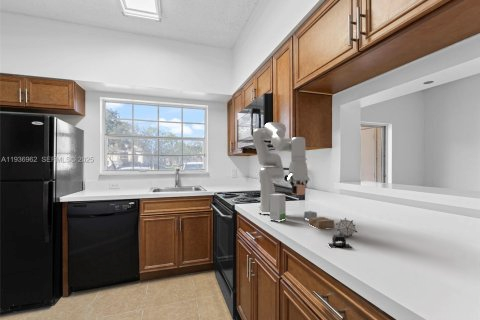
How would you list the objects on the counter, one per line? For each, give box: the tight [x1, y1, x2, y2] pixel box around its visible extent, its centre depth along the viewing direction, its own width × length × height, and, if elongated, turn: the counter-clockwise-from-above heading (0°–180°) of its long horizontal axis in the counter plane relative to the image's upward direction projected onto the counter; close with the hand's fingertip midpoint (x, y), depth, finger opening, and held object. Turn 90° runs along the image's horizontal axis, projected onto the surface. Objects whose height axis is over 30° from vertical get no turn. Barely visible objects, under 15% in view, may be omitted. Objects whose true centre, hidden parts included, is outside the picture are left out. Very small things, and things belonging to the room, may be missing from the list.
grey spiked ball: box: [335, 217, 358, 239], centre depth 105 cm, size 9×8×10 cm
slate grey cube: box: [303, 210, 318, 219], centre depth 136 cm, size 5×5×5 cm
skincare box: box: [269, 193, 287, 220], centre depth 135 cm, size 8×7×16 cm
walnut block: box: [308, 216, 335, 230], centre depth 121 cm, size 9×9×4 cm
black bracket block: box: [327, 234, 354, 249], centre depth 92 cm, size 12×7×5 cm, turn 88°
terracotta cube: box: [291, 184, 306, 196], centre depth 124 cm, size 5×5×5 cm
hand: (298, 192), depth 124 cm, fingers closed on terracotta cube, 5 cm apart
